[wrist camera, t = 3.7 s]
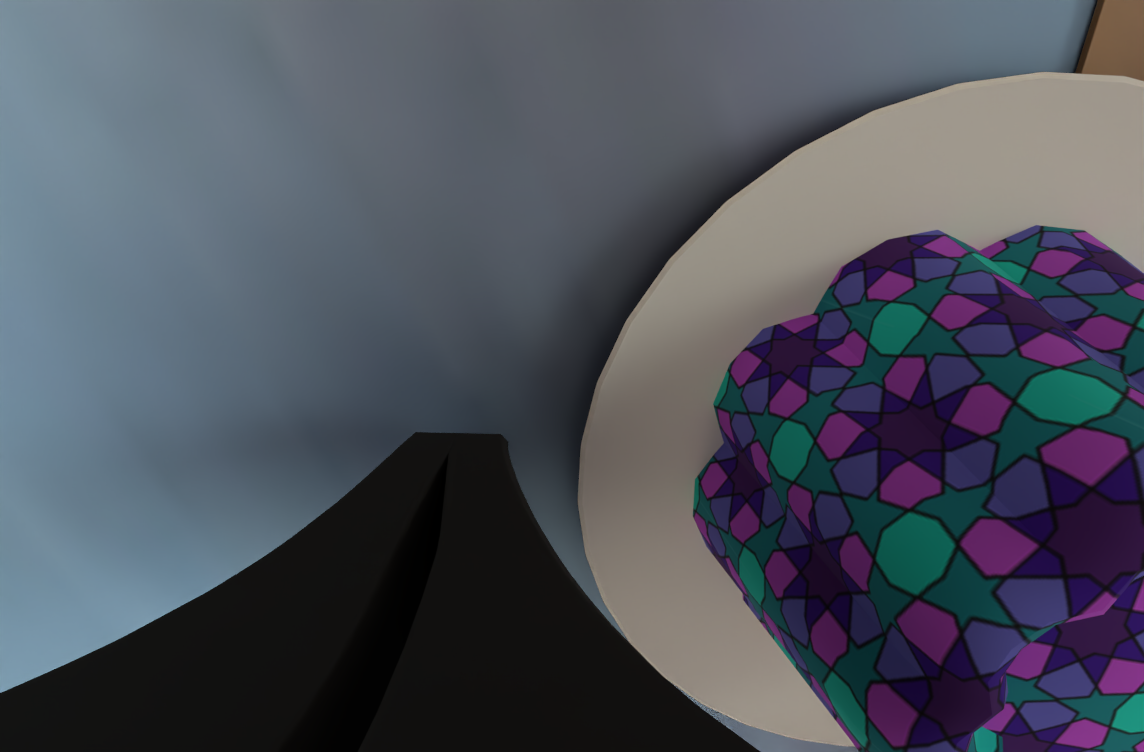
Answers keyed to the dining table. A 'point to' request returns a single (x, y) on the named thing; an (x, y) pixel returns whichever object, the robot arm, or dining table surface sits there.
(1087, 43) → the placemat
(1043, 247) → the pudding
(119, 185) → the dining table surface
